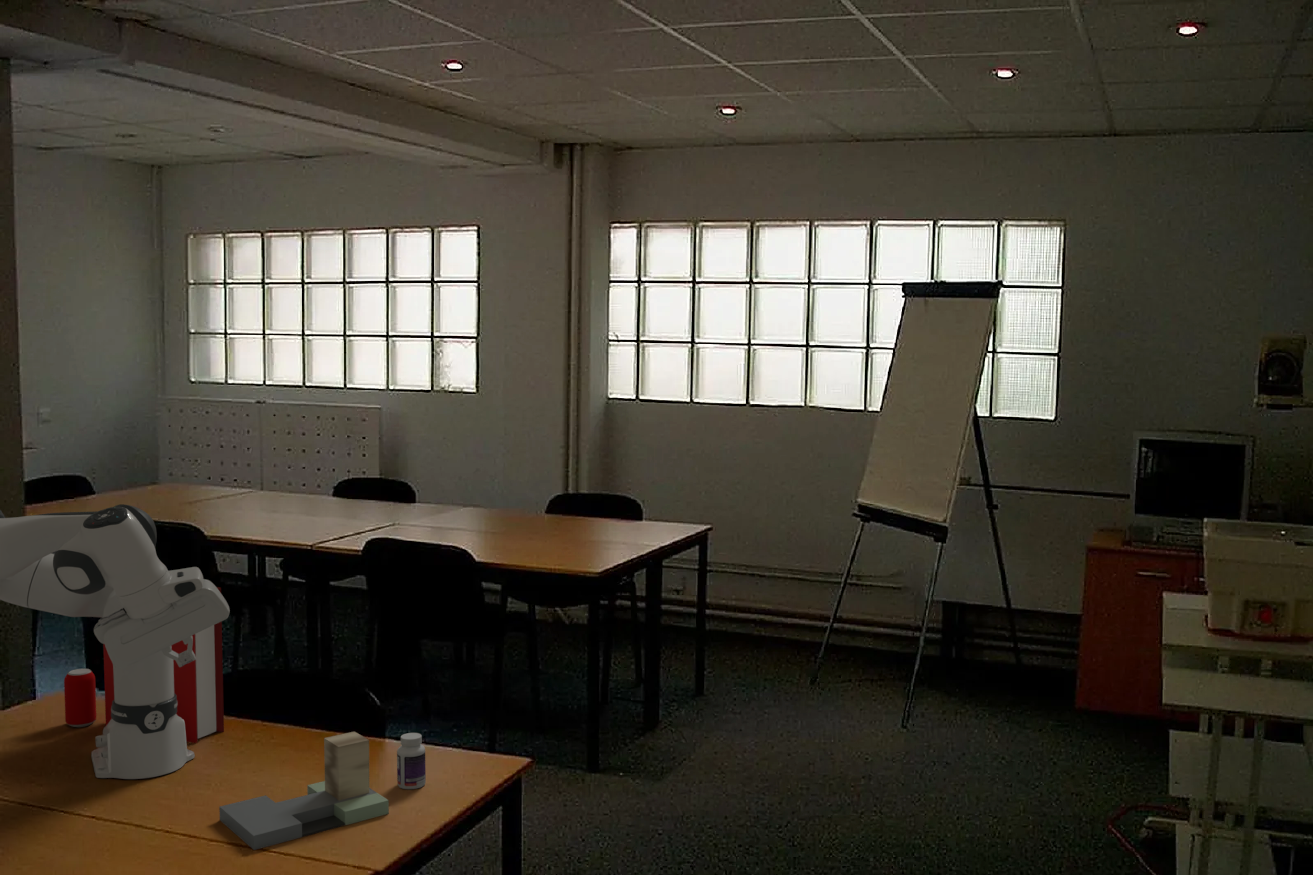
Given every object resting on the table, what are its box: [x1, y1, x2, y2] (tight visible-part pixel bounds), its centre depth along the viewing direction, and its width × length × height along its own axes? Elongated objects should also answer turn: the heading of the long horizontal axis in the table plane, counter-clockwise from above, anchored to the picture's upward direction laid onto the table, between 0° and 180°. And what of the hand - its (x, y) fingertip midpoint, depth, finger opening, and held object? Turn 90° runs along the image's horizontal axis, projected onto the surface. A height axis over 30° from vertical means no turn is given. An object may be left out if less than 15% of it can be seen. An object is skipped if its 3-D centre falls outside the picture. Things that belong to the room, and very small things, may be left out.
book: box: [102, 586, 225, 744], centre depth 262 cm, size 27×8×32 cm, turn 67°
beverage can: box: [63, 668, 97, 728], centre depth 266 cm, size 6×6×12 cm
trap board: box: [218, 780, 390, 851], centre depth 217 cm, size 16×25×2 cm, turn 130°
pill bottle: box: [396, 732, 427, 790], centre depth 232 cm, size 5×5×10 cm
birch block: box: [323, 731, 370, 800], centre depth 222 cm, size 6×6×10 cm
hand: (187, 662), depth 207 cm, fingers closed
